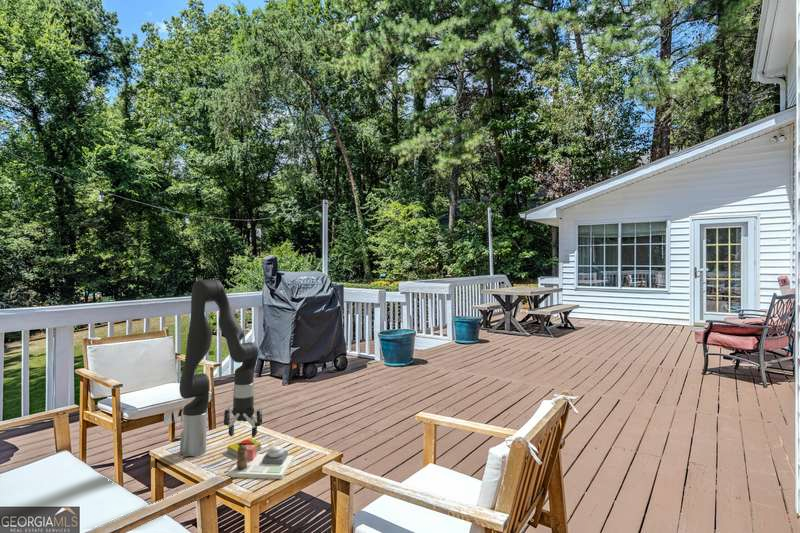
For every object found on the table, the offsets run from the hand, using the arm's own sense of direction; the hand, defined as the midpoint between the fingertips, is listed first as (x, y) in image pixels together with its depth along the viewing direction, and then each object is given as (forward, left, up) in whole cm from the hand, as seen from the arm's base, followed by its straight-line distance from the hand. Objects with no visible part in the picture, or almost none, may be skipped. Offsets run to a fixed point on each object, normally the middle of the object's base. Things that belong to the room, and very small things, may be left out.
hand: (242, 436), depth 171 cm
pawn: (0, 0, -12) cm, 12 cm away
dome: (+10, +9, -12) cm, 18 cm away
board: (+6, +5, -14) cm, 16 cm away
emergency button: (-7, +19, -15) cm, 25 cm away
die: (-1, +9, -13) cm, 16 cm away
